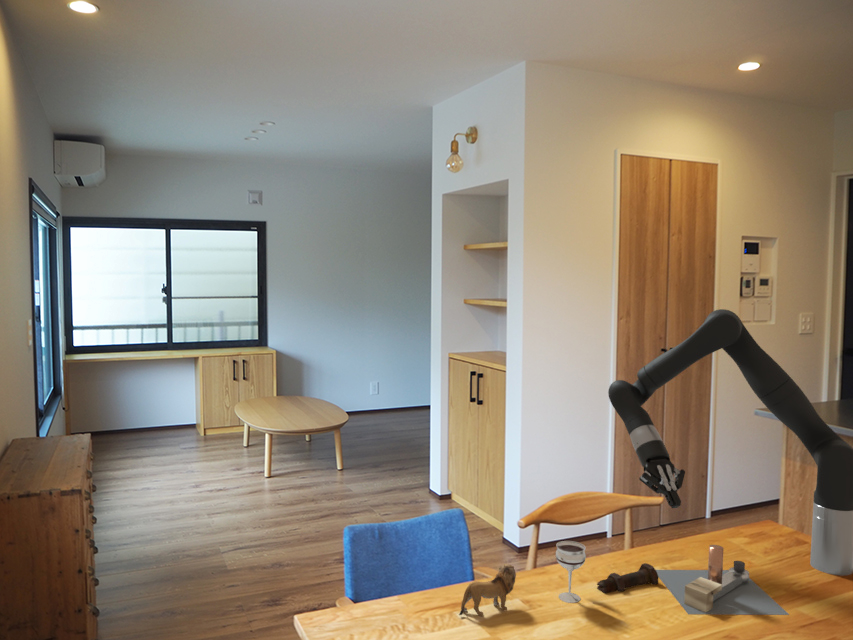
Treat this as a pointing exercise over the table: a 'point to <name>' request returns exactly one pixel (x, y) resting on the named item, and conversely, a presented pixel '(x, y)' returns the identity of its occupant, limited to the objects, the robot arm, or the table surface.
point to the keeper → (701, 593)
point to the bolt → (629, 579)
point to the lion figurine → (491, 589)
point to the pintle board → (732, 603)
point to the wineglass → (570, 564)
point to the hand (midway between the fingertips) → (676, 506)
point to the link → (716, 569)
